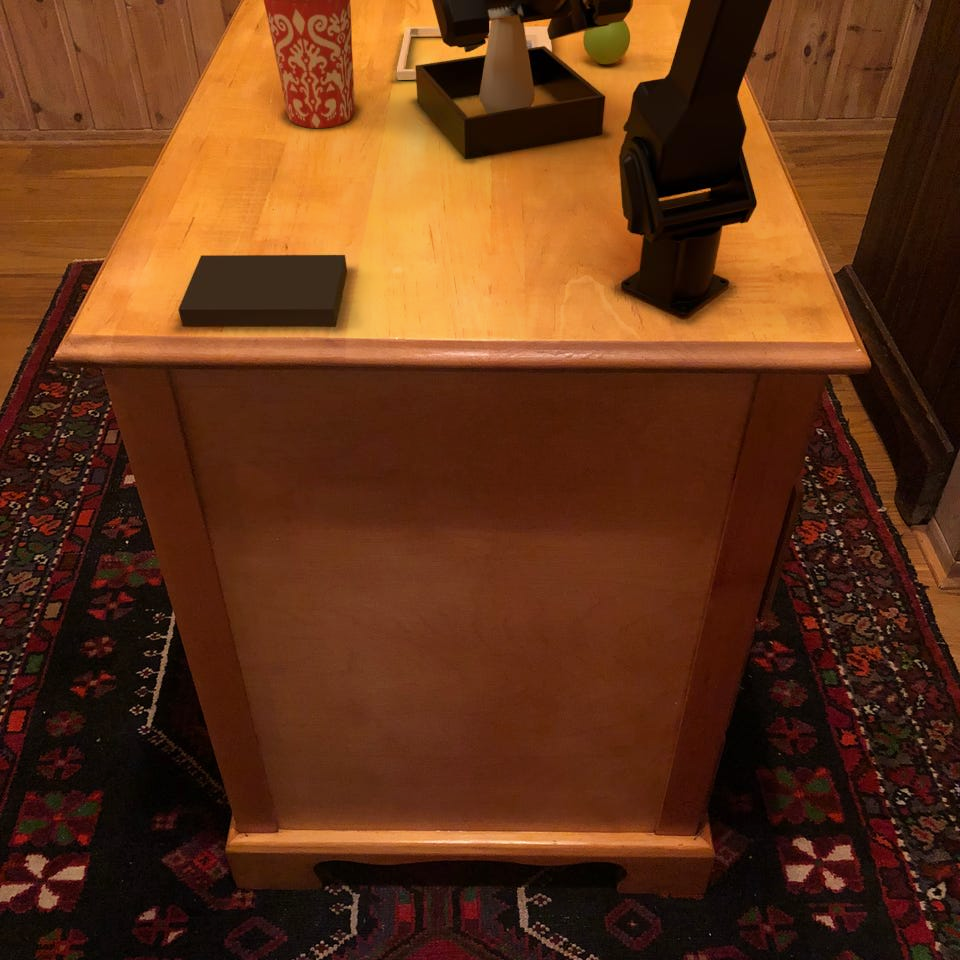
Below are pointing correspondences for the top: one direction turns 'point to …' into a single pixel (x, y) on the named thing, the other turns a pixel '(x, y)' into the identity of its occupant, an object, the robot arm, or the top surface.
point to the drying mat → (264, 290)
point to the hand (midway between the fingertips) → (508, 40)
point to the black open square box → (512, 127)
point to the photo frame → (533, 35)
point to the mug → (314, 59)
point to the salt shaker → (506, 68)
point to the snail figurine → (607, 42)
